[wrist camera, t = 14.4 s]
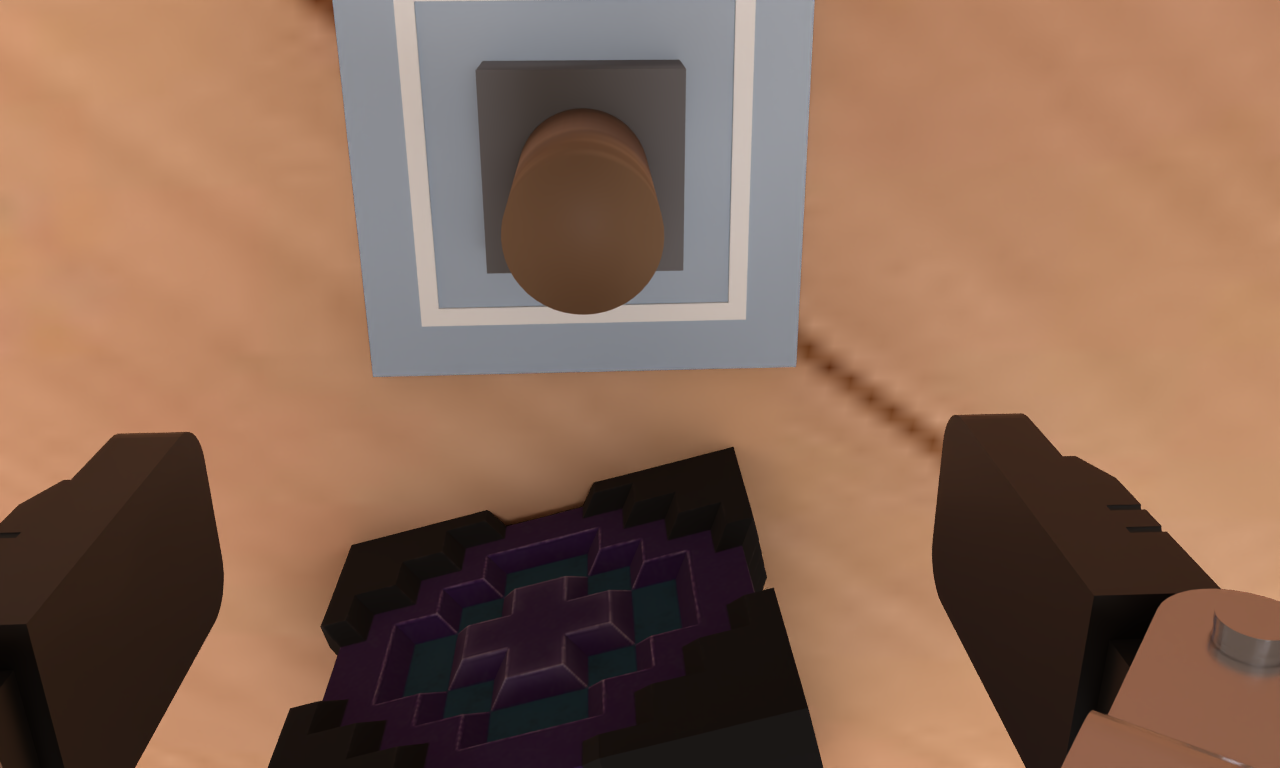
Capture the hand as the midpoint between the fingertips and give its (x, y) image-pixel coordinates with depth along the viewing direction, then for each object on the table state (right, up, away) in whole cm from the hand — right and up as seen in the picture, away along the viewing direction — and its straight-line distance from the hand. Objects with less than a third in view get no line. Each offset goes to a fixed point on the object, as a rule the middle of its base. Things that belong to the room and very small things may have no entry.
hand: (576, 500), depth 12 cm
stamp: (-1, +7, +17) cm, 19 cm away
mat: (-1, +7, +17) cm, 19 cm away
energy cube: (-1, -7, +24) cm, 25 cm away
